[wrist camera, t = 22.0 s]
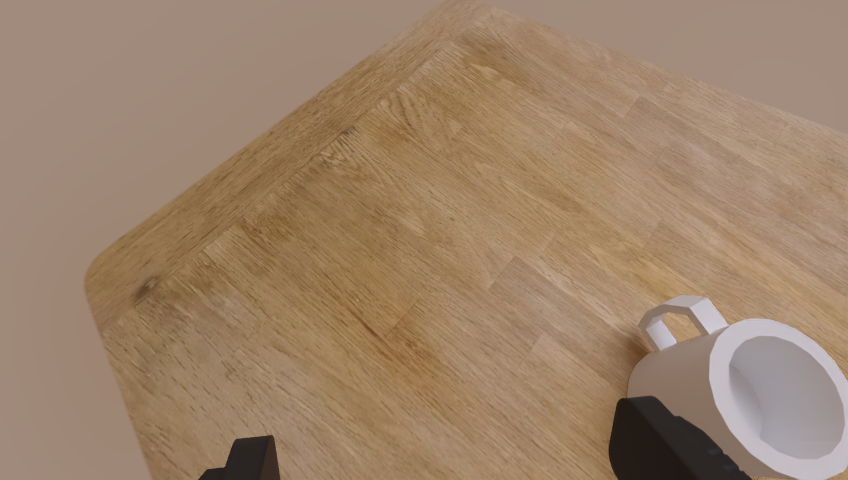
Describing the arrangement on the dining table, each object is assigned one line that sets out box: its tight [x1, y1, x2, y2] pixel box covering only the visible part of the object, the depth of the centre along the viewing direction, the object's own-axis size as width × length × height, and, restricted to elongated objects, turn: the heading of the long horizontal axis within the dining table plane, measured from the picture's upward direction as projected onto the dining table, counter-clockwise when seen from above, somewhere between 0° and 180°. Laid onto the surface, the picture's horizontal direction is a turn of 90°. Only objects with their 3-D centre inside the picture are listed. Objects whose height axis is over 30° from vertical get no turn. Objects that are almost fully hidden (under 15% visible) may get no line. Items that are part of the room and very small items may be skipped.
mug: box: [627, 295, 848, 480], centre depth 34 cm, size 14×10×11 cm
